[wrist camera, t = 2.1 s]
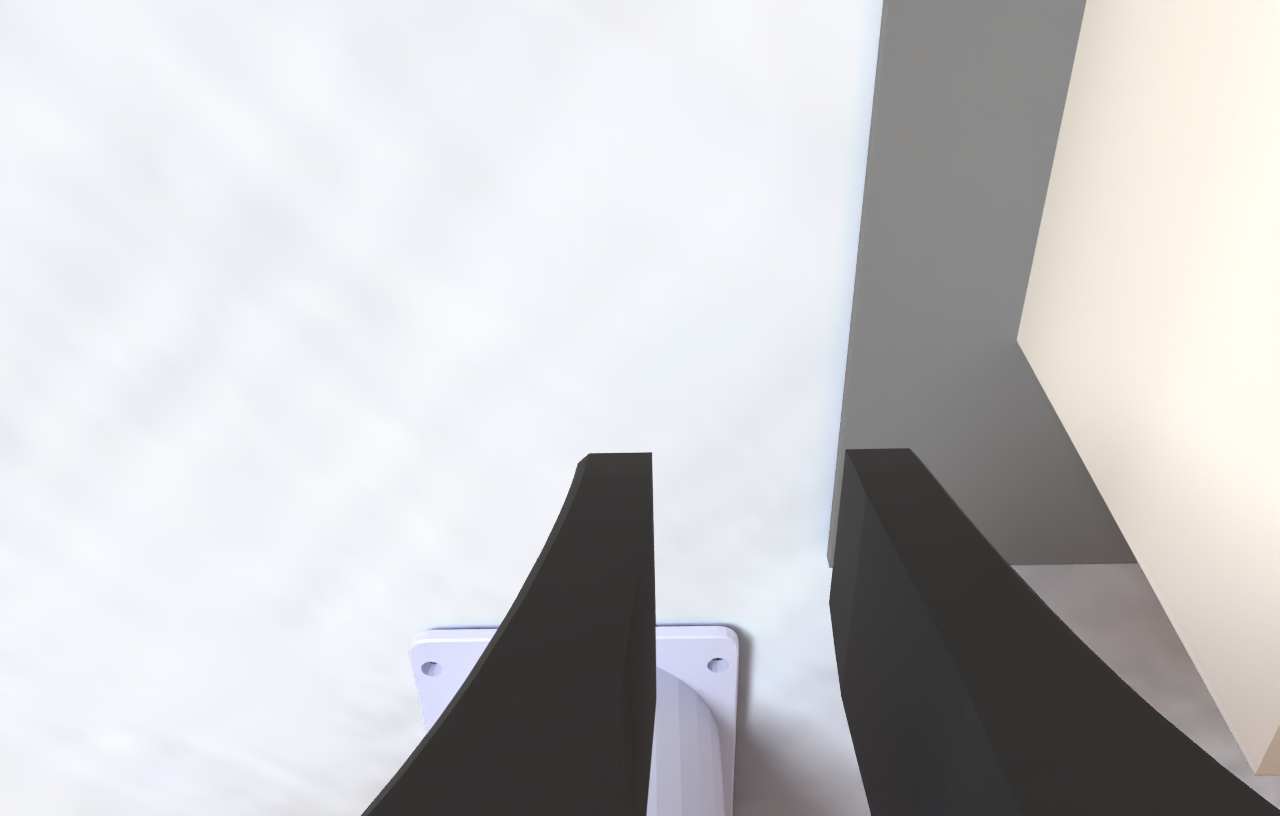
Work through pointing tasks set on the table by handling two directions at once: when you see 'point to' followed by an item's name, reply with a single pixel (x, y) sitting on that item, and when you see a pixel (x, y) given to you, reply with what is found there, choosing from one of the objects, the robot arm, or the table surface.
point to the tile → (1176, 321)
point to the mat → (967, 273)
